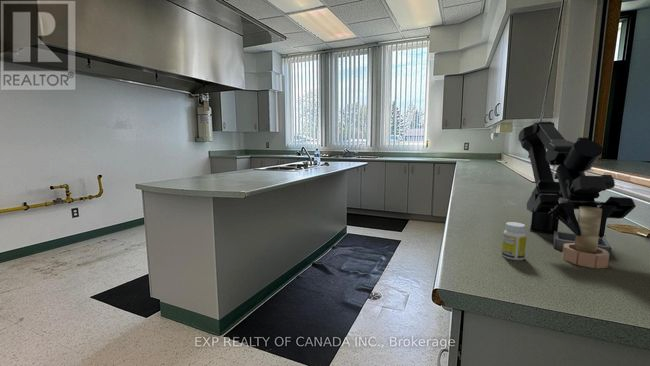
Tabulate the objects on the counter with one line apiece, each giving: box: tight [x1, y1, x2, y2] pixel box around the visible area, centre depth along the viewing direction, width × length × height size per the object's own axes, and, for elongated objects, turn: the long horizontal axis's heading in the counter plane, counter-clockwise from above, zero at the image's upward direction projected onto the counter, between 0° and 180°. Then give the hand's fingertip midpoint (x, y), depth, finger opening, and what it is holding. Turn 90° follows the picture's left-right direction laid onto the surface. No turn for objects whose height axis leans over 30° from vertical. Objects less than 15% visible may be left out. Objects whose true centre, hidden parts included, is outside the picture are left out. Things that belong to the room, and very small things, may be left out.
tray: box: [552, 230, 613, 258], centre depth 79 cm, size 11×9×2 cm
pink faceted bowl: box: [561, 243, 610, 269], centre depth 71 cm, size 8×8×3 cm
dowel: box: [574, 206, 602, 254], centre depth 70 cm, size 4×4×13 cm
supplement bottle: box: [501, 221, 527, 261], centre depth 73 cm, size 5×5×8 cm
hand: (590, 236), depth 69 cm, fingers closed on dowel, 4 cm apart
